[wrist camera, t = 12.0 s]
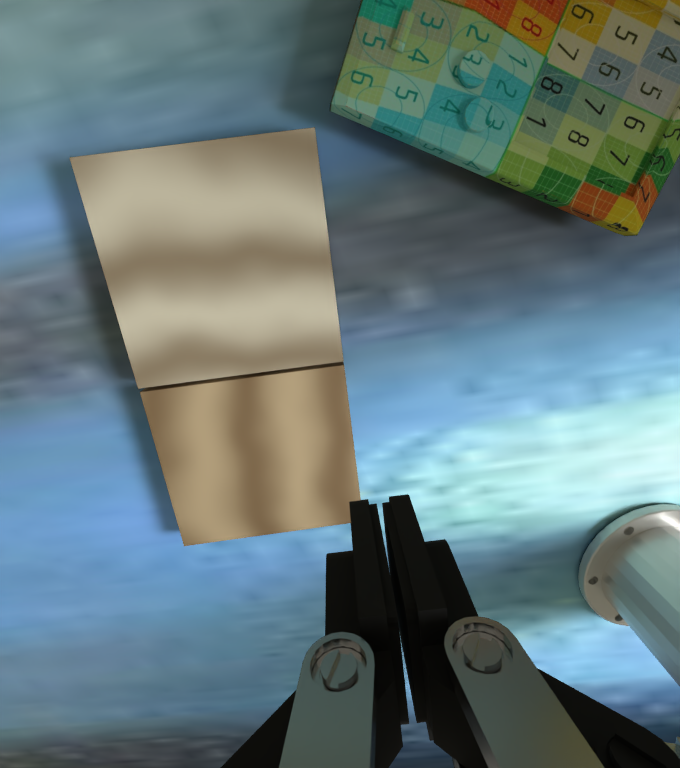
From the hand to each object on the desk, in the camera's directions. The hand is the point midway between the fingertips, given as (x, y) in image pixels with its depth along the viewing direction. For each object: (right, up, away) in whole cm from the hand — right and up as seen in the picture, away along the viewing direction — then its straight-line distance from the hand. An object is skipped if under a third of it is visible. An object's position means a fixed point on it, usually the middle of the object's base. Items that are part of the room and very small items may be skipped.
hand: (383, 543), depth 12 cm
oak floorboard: (-7, -1, +21) cm, 22 cm away
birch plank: (-9, +12, +16) cm, 22 cm away
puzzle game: (+9, +23, +15) cm, 29 cm away
